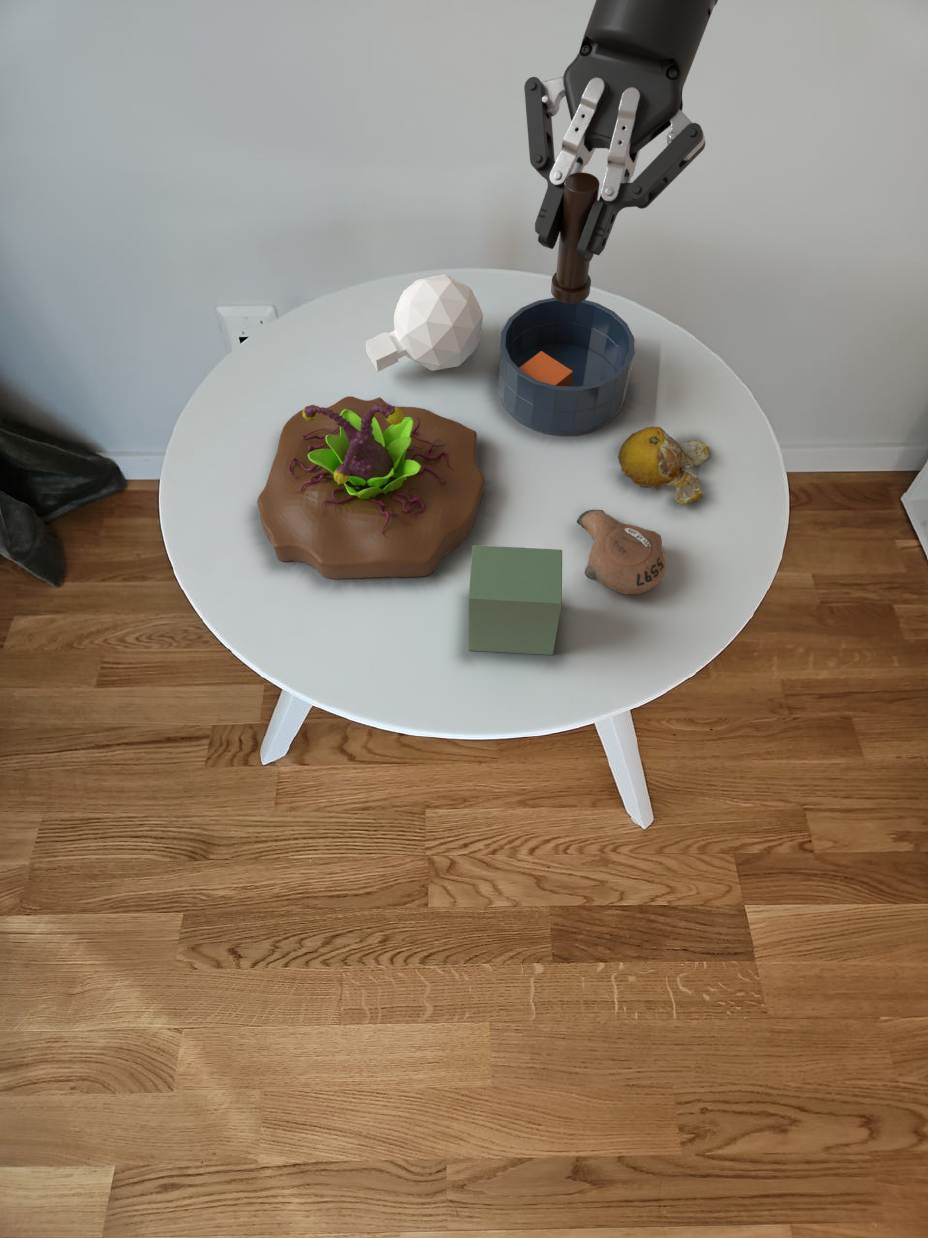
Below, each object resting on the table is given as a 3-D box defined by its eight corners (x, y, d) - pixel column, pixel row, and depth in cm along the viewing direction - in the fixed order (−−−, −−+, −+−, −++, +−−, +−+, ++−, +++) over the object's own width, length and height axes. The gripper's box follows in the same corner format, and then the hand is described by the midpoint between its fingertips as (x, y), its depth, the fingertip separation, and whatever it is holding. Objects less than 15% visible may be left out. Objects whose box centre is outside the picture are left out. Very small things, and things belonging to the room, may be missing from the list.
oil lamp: (664, 533, 82) (576, 521, 82) (672, 501, 78) (581, 489, 79) (660, 608, 76) (565, 594, 77) (669, 577, 73) (570, 563, 74)
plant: (461, 598, 77) (461, 518, 67) (241, 567, 79) (210, 483, 69) (497, 427, 87) (501, 336, 78) (301, 402, 89) (281, 310, 79)
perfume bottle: (455, 294, 94) (354, 342, 93) (459, 240, 85) (346, 293, 84) (496, 361, 93) (394, 412, 91) (504, 313, 84) (390, 369, 82)
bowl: (623, 347, 93) (632, 299, 88) (626, 439, 86) (637, 393, 81) (501, 342, 93) (503, 294, 88) (495, 432, 87) (497, 386, 82)
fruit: (700, 511, 82) (710, 485, 79) (610, 495, 83) (616, 468, 80) (709, 444, 86) (718, 417, 83) (623, 429, 87) (629, 402, 84)
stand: (553, 604, 77) (562, 549, 70) (552, 655, 74) (562, 603, 67) (471, 599, 77) (472, 544, 70) (468, 650, 74) (468, 598, 67)
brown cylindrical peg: (589, 278, 70) (603, 169, 63) (589, 304, 69) (604, 195, 61) (551, 277, 70) (560, 168, 63) (550, 303, 69) (560, 194, 61)
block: (538, 381, 90) (541, 350, 86) (569, 401, 88) (573, 371, 85) (511, 402, 88) (513, 371, 85) (542, 423, 87) (545, 393, 83)
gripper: (551, -67, 58) (460, 209, 63) (758, -18, 54) (645, 271, 59) (578, -10, 65) (494, 235, 70) (763, 37, 61) (662, 292, 66)
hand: (564, 250), depth 64 cm, fingers closed on brown cylindrical peg, 2 cm apart
